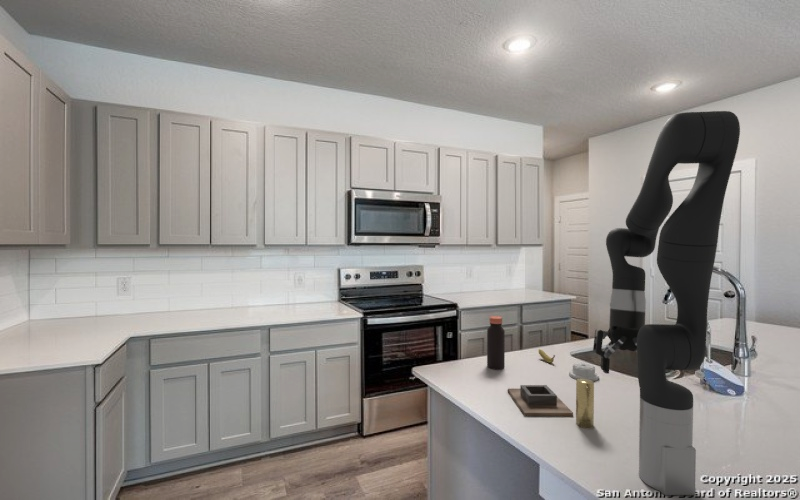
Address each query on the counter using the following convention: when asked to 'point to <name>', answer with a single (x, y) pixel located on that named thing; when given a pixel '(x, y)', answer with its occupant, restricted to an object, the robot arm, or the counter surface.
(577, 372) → the mechanical component
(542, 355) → the banana
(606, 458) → the counter surface
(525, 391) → the mounting plate
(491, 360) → the bottle
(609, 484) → the counter surface
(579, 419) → the post
